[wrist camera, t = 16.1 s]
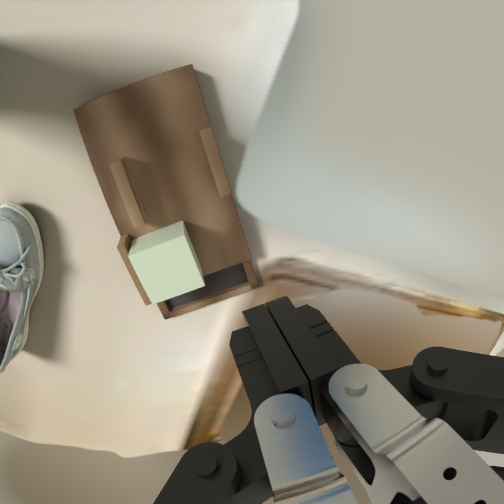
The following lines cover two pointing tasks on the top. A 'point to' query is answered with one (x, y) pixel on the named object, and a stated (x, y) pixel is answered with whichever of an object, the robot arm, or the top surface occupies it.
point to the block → (166, 263)
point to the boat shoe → (17, 277)
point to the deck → (168, 180)
